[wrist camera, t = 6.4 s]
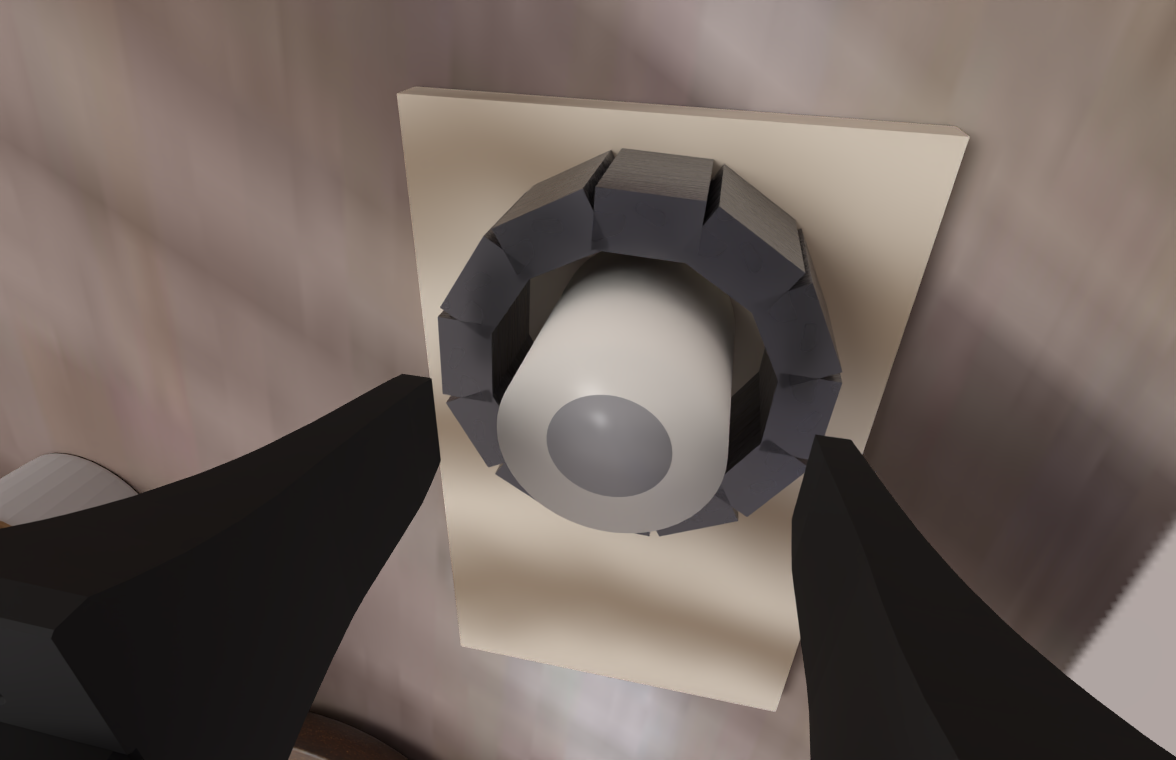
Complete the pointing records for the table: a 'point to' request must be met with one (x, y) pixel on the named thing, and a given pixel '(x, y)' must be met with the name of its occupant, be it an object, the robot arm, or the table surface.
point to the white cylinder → (624, 397)
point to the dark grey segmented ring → (667, 232)
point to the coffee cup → (57, 489)
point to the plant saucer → (338, 742)
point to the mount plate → (864, 343)
